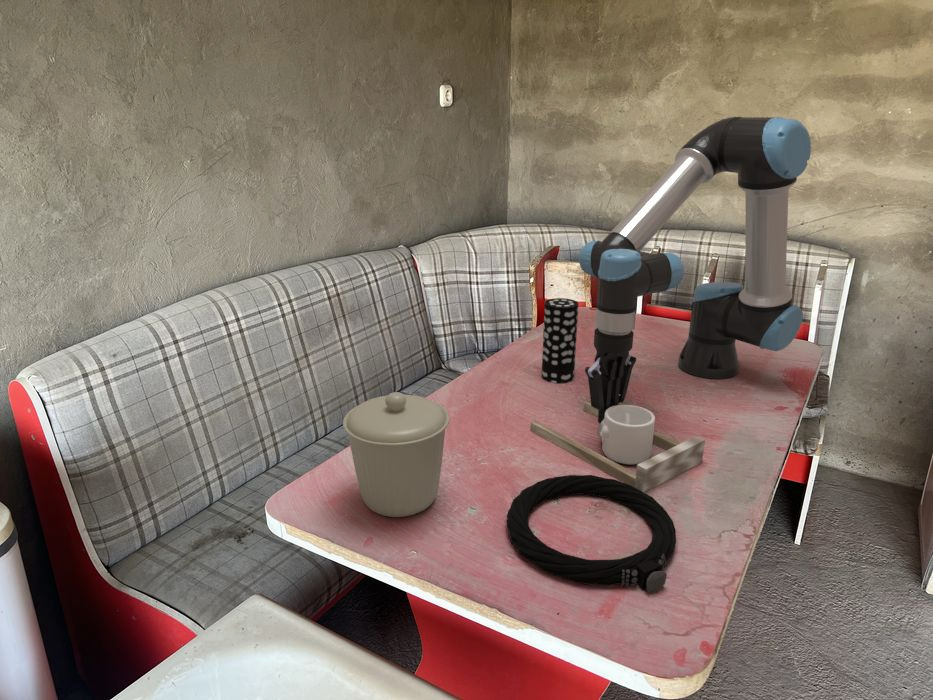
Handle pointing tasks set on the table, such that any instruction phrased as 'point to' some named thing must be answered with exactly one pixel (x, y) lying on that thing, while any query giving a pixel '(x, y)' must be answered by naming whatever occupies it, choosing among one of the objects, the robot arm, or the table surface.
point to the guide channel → (647, 472)
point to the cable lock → (622, 571)
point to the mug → (627, 434)
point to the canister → (397, 451)
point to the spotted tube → (559, 340)
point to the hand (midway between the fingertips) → (605, 435)
